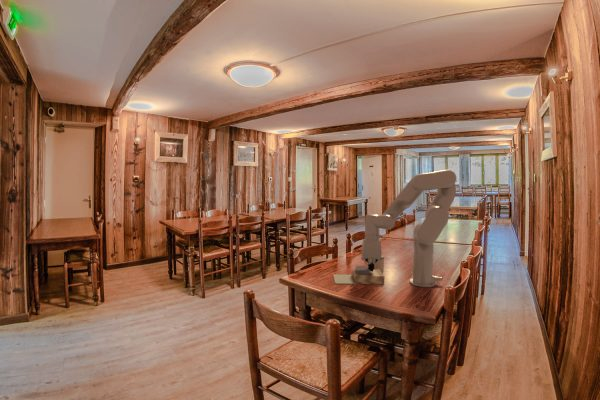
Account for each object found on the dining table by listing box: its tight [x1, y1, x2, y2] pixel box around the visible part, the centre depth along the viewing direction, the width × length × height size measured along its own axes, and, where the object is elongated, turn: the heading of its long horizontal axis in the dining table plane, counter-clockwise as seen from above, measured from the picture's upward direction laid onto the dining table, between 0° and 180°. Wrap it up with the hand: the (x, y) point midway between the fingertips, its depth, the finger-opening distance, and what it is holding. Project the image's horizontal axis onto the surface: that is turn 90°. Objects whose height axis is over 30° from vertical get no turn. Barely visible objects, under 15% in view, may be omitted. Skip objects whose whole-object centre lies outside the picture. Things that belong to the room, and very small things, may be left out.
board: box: [351, 268, 385, 285], centre depth 169 cm, size 15×13×4 cm
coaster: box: [355, 265, 370, 275], centre depth 169 cm, size 6×9×2 cm, turn 177°
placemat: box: [332, 273, 355, 285], centre depth 170 cm, size 10×15×1 cm, turn 178°
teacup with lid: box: [363, 254, 385, 273], centre depth 186 cm, size 12×9×12 cm
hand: (371, 270), depth 169 cm, fingers closed
